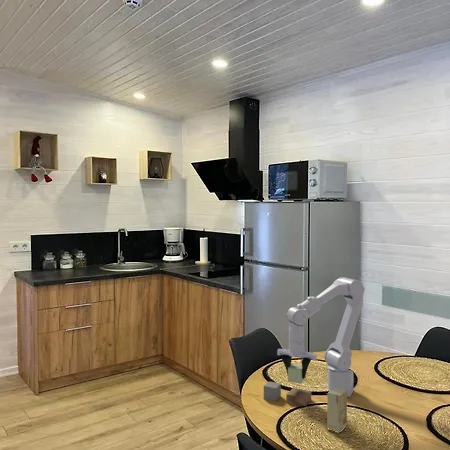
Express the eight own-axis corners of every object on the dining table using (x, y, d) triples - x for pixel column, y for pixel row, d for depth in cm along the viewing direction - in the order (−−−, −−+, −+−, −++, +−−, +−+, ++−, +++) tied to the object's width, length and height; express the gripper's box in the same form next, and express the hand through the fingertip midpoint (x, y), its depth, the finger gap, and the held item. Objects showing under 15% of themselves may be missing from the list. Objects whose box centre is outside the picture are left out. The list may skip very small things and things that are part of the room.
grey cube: (280, 396, 173) (280, 383, 173) (276, 401, 168) (276, 388, 168) (268, 394, 175) (268, 381, 175) (263, 399, 170) (263, 386, 170)
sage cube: (304, 379, 171) (304, 365, 171) (301, 383, 167) (301, 370, 167) (292, 376, 174) (292, 363, 173) (287, 381, 169) (287, 368, 169)
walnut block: (311, 400, 169) (311, 391, 169) (304, 407, 163) (304, 398, 163) (293, 396, 173) (293, 387, 173) (286, 403, 167) (286, 394, 167)
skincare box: (339, 434, 143) (339, 396, 143) (326, 430, 146) (326, 392, 146) (347, 426, 149) (347, 389, 148) (334, 422, 151) (335, 386, 151)
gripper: (274, 340, 169) (274, 376, 170) (312, 345, 163) (312, 383, 163) (280, 335, 176) (280, 370, 176) (318, 340, 169) (317, 376, 170)
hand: (296, 376), depth 170 cm, fingers closed on sage cube, 5 cm apart
